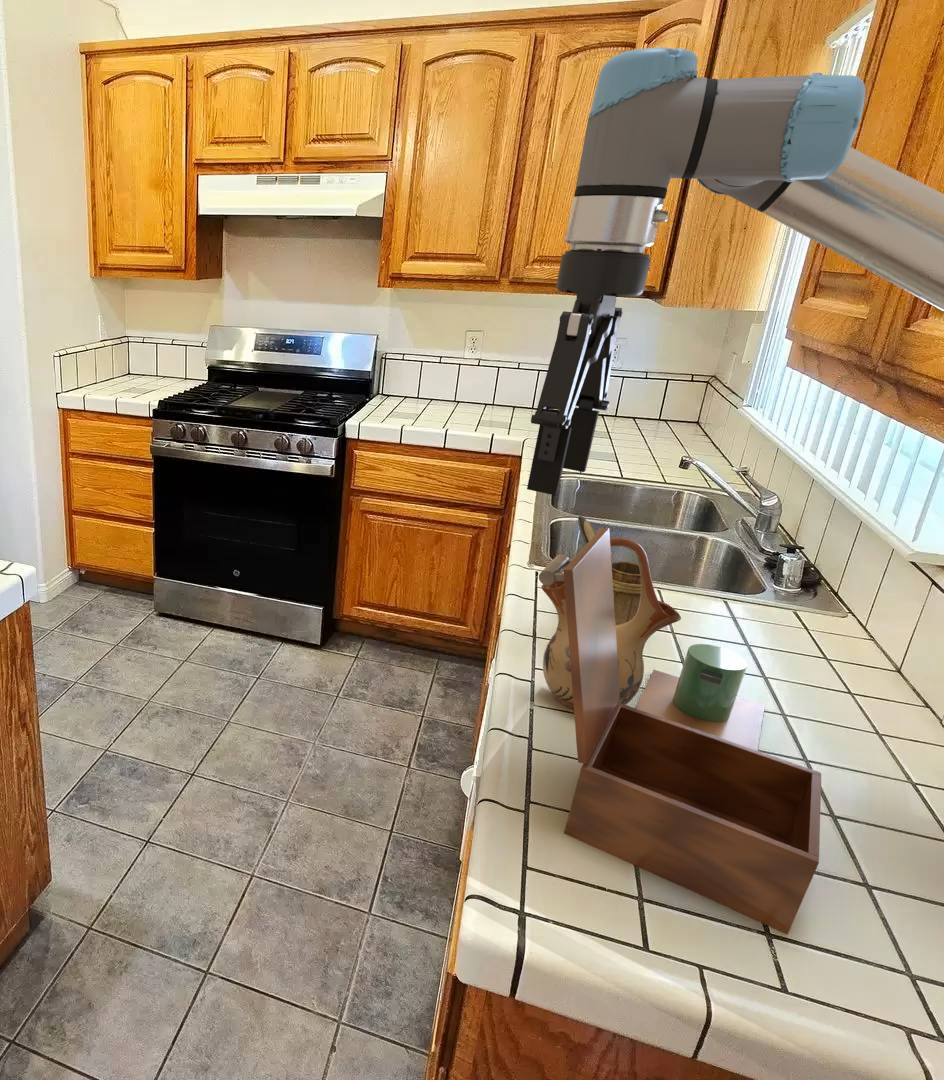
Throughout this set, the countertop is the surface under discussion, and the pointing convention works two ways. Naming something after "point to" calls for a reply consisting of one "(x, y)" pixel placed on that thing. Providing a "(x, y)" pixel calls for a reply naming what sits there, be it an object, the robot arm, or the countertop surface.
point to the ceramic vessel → (627, 635)
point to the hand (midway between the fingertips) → (557, 479)
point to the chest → (701, 814)
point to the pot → (709, 682)
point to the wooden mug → (619, 581)
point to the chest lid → (589, 636)
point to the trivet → (736, 729)
